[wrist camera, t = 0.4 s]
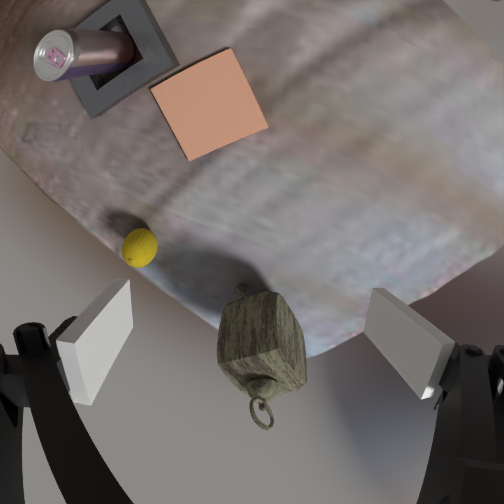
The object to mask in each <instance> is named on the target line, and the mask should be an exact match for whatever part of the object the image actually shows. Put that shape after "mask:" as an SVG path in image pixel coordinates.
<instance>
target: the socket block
mask: <svg viewBox="0 0 504 504" xmlns="http://www.w3.org/2000/svg"><path fill="white" fill-rule="evenodd" d="M122 21H124V23H125V24H126V26H127V28H128V30H129V32H130V34H131V36H132V38H133V40H134V42H135V43H136V45H137V47H138V49H139V51H140V53H141V55H142V57H143V59H142V60H140V61H139V62H137V63H136V64H134V65H133V66H131V67H130V68H128V69H127V70H125V71H124V72H122V73H121V74H119V75H118V76H117V77H115V78H114V79H112V80H111V81H109V82H108V83H107V84H105V83H104V81H103V79H102V77H101V75H100V74H94V75H88V76H82V77H76V78H71V79H70V80H71V82H72V84H73V86H74V88H75V89H76V91H77V93H78V95H79V97H80V99H81V101H82V103H83V105H84V107H85V109H86V110H87V112H88V114H89V116H90V118H91V119H92V118H95V117H97V116H100V115H102V114H103V113H105V112H106V111H107V110H109V109H110V108H112V107H113V106H114V105H116V104H117V103H119V102H120V101H122V100H123V99H125V98H126V97H128V96H129V95H131V94H132V93H134V92H135V91H137V90H139V89H140V88H142V87H143V86H145V85H147V84H148V83H150V82H152V81H153V80H155V79H157V78H158V77H160V76H162V75H164V74H165V73H167V72H169V71H171V70H172V69H174V68H176V67H178V66H180V64H179V62H178V60H177V59H176V57H175V55H174V53H173V51H172V49H171V47H170V45H169V43H168V42H167V40H166V38H165V36H164V34H163V32H162V30H161V28H160V27H159V25H158V23H157V21H156V19H155V17H154V16H153V14H152V12H151V10H150V8H149V6H148V4H147V3H146V1H145V0H111V1H109V2H108V3H106V4H105V5H104V6H102V7H101V8H100V9H98V10H97V11H96V12H94V13H93V14H92V15H91V16H89V17H88V18H87V19H85V20H84V21H83V22H82V23H81V24H79V25H78V26H77V27H76V28H75V29H90V30H101V31H109V30H111V29H112V28H114V27H115V26H116V25H118V24H119V23H121V22H122Z"/></svg>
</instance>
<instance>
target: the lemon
mask: <svg viewBox="0 0 504 504" xmlns="http://www.w3.org/2000/svg"><path fill="white" fill-rule="evenodd" d="M157 248H158V242H157V239H156V236H155V235H154V234H153V233H152V232H151V231H150V230H148V229H145V228H138V229H135V230H133V231H132V232H130V233H129V234H128V235H127V237H126V238H125V240H124V242H123V246H122V256H123V259H124V260H125V262H126V263H127V264H128V265H130V266H132V267H136V268H140V267H144V266H146V265H147V264H148V263H150V262H151V261H152V259H153V258H154V256H155V255H156V252H157Z"/></svg>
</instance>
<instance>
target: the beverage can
mask: <svg viewBox="0 0 504 504" xmlns="http://www.w3.org/2000/svg"><path fill="white" fill-rule="evenodd" d="M133 54H134V44H133V41H132V39H131V38H130V37H129V36H128V35H126V34H124V33H118V32H110V31H101V30H90V29H75V28H62V29H58V30H54V31H51V32H49V33H48V34H46V35H45V36H44V37H43V38H42V39H41V41H40V42H39V44H38V46H37V48H36V50H35V54H34V69H35V72H36V74H37V75H38V76H39V77H40V78H41V79H42V80H45V81H61V80H66V79H71V78H76V77H82V76H88V75H94V74H101V73H108V72H115V71H119V70H121V69H123V68H124V67H126V66H127V65H128V64H129V62H130V61H131V59H132V57H133Z"/></svg>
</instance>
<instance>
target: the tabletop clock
mask: <svg viewBox="0 0 504 504" xmlns="http://www.w3.org/2000/svg"><path fill="white" fill-rule="evenodd" d="M236 291H237V293H239V294H242V296H243V299H240V300H237V301H234V302H231V303H228V304H227V305H226V306H225V308H224V310H223V313H222V317H221V321H220V326H219V333H218V343H217V358H218V365H219V366H220V368H221V370H222V372H223V373H224V374H225V376H226V377H227V378H228V379H229V380H230V381H231V382H232V383H233V384H234V385H235V386H236V387H237V388H238V389H239V390H240V391H242V392H243V393H245V394H246V395H247V396H249V397H250V398H252V399H251V401H250V413H251V416H252V418H253V420H254V421H255V423H256V424H257V425H258V426H259V427H261V428H262V429H265V430H269V429H271V428H272V427H273V423H274V419H273V415H272V411H271V409H270V407H269V406H268V405H267V403H266V402H268V401H271V400H273V399H274V398H275V397H277V396H278V395H282V394H287V393H291V392H295V391H298V390H299V389H300V388H301V387H302V386H303V385H304V384H306V382H307V366H306V352H305V342H304V336H303V331H302V329H301V327H300V325H299V323H298V321H297V319H296V318H295V316H294V314H293V313H292V311H291V309H290V308H289V306H288V305H287V303H286V302H285V300H284V299H283V297H282V296H281V295H280V294H279V293H276V292H271V291H267V290H266V291H263V292H260V293H257V294H254V295H252V296H249V297H248V296H247V295H246V294H245V293H244V291H245V287H244V286H243V285H238V286H237V288H236ZM254 401H255V402H258V403H259V409H260V410H261V411H264V410H266V411H267V412H268V414H269V416H270V419H271V423H270V425H269V426H266V425H264V424H263V423H262V422H261V421H260V420H259V419H258V418H257V416H256V414H255V412H254V408H253V402H254Z"/></svg>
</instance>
